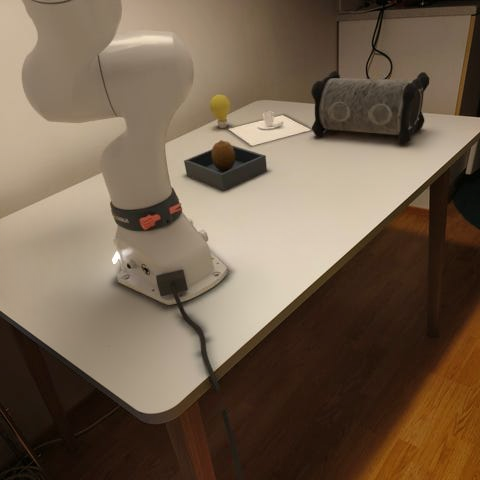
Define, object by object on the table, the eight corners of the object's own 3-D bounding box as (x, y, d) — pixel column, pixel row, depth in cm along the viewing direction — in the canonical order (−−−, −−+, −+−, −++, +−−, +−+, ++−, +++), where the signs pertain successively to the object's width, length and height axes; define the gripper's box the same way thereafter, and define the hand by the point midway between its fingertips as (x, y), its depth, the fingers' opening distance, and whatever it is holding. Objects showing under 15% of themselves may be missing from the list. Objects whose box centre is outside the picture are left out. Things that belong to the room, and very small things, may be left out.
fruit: (211, 169, 123) (206, 140, 118) (232, 164, 125) (228, 134, 119) (218, 177, 119) (213, 146, 114) (240, 171, 120) (236, 141, 115)
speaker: (331, 122, 143) (332, 68, 133) (424, 128, 129) (432, 70, 120) (310, 138, 134) (308, 83, 124) (407, 147, 120) (414, 86, 111)
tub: (267, 170, 120) (265, 155, 117) (223, 190, 113) (221, 174, 111) (228, 157, 130) (226, 143, 128) (186, 175, 124) (183, 160, 121)
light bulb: (211, 126, 155) (206, 94, 148) (229, 122, 156) (225, 90, 149) (216, 131, 150) (211, 99, 143) (235, 127, 151) (231, 94, 144)
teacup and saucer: (287, 126, 145) (286, 113, 142) (264, 132, 143) (263, 119, 140) (275, 120, 151) (274, 107, 148) (253, 125, 149) (252, 112, 147)
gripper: (1, -35, 89) (31, 46, 97) (55, -45, 77) (83, 48, 86) (31, -39, 92) (56, 40, 101) (86, -49, 80) (110, 41, 89)
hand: (69, 44), depth 93 cm, fingers open, 8 cm apart
